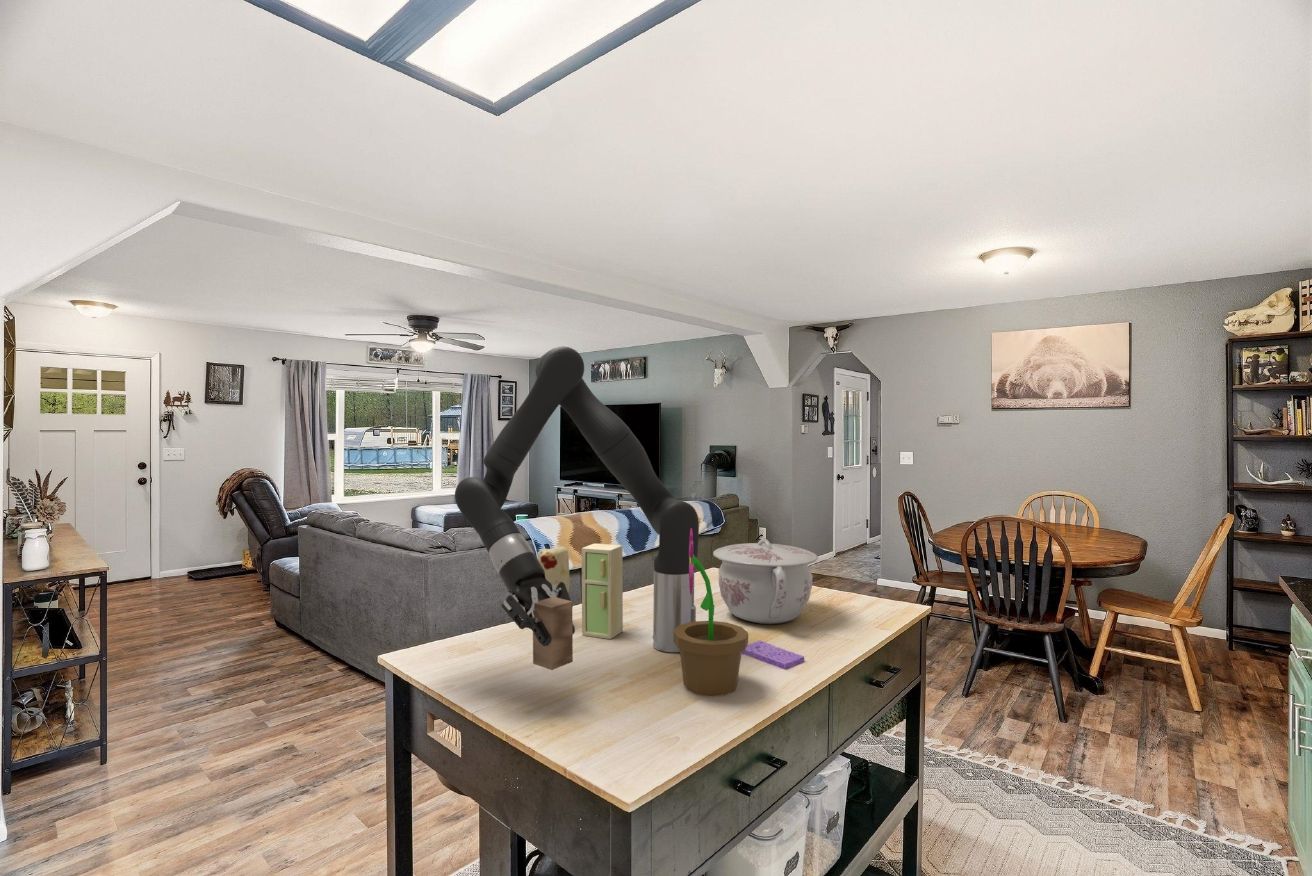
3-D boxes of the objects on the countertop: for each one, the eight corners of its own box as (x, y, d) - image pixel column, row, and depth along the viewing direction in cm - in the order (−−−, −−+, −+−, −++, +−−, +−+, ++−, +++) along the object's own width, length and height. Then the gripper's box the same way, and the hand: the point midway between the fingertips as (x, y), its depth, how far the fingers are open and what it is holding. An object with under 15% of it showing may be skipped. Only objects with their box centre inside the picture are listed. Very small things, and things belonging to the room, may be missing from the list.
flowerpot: (673, 669, 127) (674, 523, 127) (743, 671, 126) (745, 524, 126) (672, 700, 113) (674, 535, 112) (752, 701, 112) (754, 536, 112)
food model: (548, 635, 148) (548, 551, 147) (528, 629, 151) (528, 548, 151) (575, 624, 156) (576, 545, 155) (555, 620, 159) (556, 542, 159)
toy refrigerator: (579, 636, 147) (580, 547, 147) (593, 627, 154) (594, 542, 154) (609, 640, 144) (610, 550, 144) (623, 631, 151) (623, 545, 151)
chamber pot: (742, 597, 183) (743, 527, 183) (833, 613, 167) (834, 537, 167) (691, 620, 160) (692, 540, 160) (790, 641, 144) (791, 553, 144)
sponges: (759, 647, 142) (759, 639, 142) (805, 664, 132) (805, 655, 132) (738, 655, 137) (738, 646, 137) (784, 672, 127) (784, 663, 127)
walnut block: (553, 655, 116) (553, 596, 115) (572, 661, 112) (572, 601, 112) (533, 663, 112) (532, 602, 111) (551, 670, 109) (551, 607, 108)
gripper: (493, 557, 111) (539, 638, 104) (554, 545, 122) (598, 617, 115) (476, 582, 114) (518, 662, 107) (536, 568, 125) (578, 640, 118)
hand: (559, 638), depth 111 cm, fingers closed on walnut block, 5 cm apart
